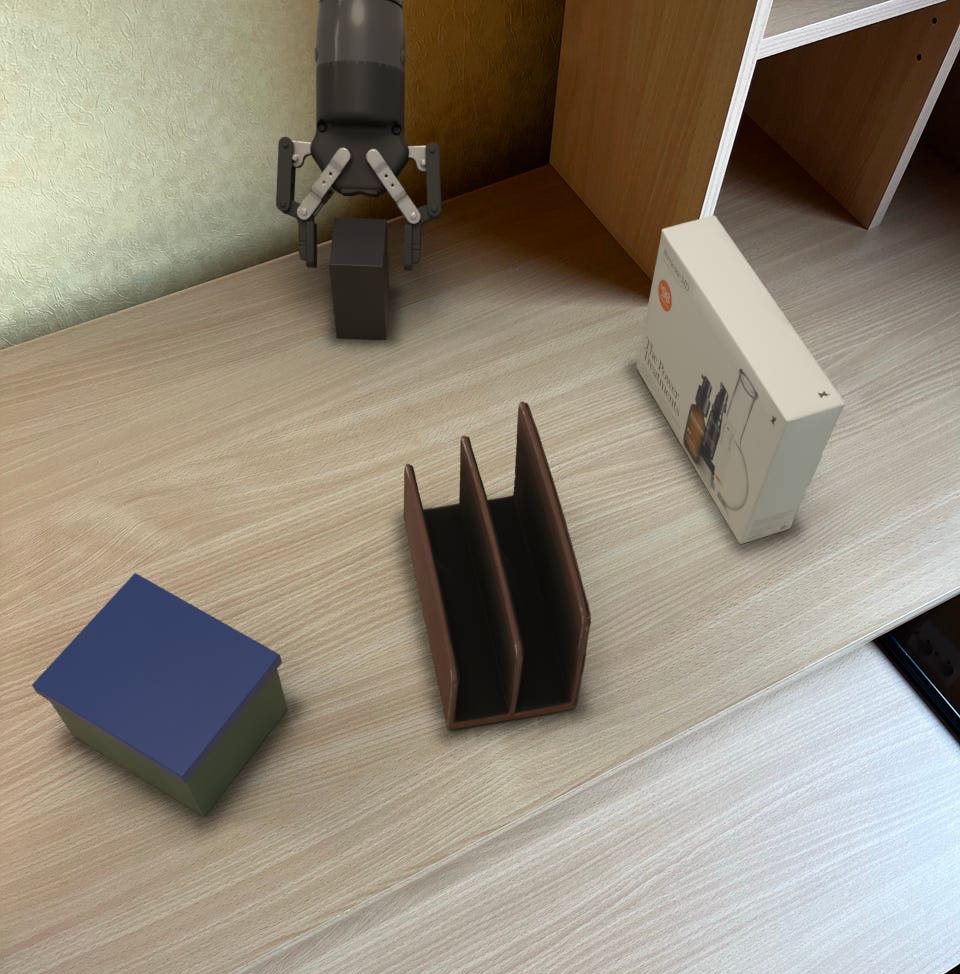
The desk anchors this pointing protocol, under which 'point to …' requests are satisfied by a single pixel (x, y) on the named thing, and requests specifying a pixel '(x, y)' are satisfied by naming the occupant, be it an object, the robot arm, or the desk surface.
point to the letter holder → (500, 591)
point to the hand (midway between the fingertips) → (359, 269)
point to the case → (360, 278)
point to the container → (167, 692)
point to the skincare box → (734, 380)
